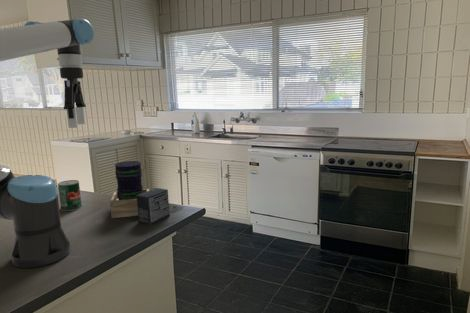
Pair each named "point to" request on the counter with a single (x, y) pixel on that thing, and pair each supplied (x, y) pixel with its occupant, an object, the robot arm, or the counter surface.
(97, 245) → the counter surface
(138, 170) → the blue metal drum
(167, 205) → the small box
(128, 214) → the open wooden box
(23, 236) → the robot arm
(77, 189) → the canned tomato
